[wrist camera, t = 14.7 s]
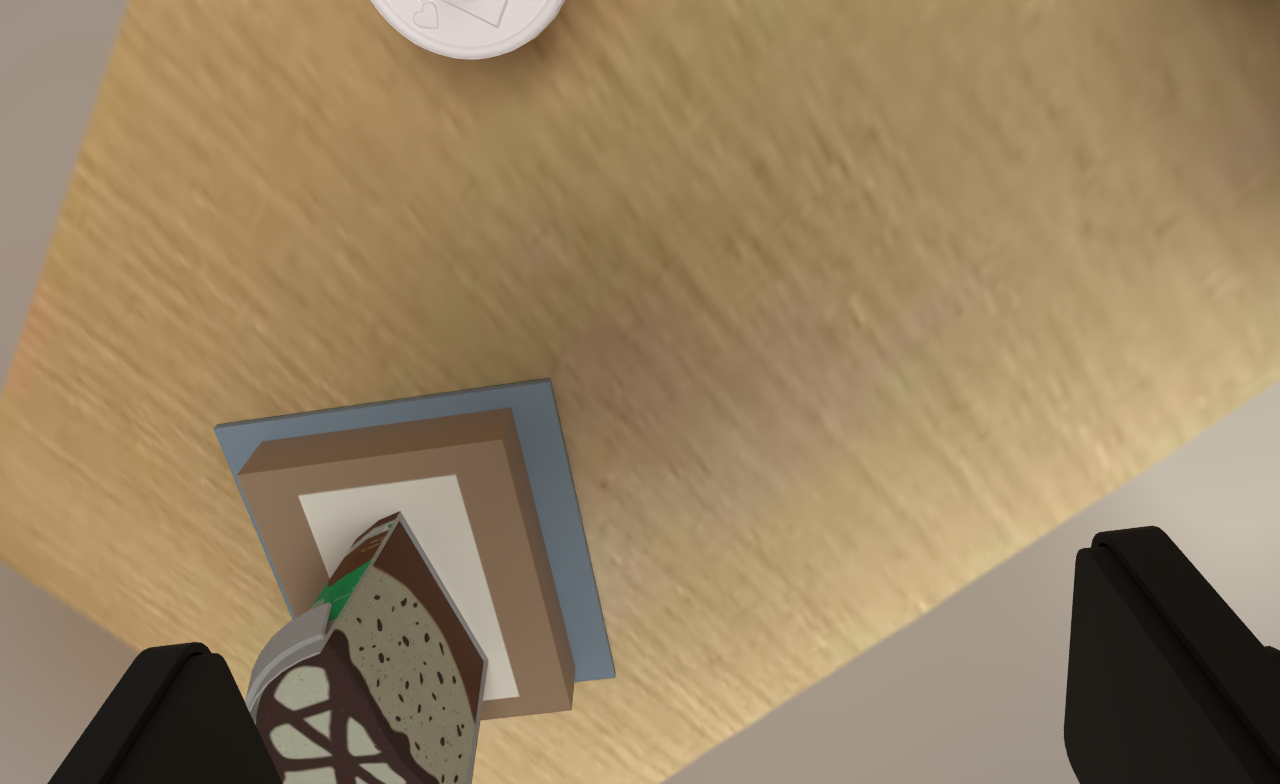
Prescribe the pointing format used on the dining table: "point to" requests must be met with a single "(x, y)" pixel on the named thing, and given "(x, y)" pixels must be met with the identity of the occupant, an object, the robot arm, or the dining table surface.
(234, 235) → the dining table surface
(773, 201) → the dining table surface
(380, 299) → the dining table surface
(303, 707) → the food container
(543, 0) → the smoothie
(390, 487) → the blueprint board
